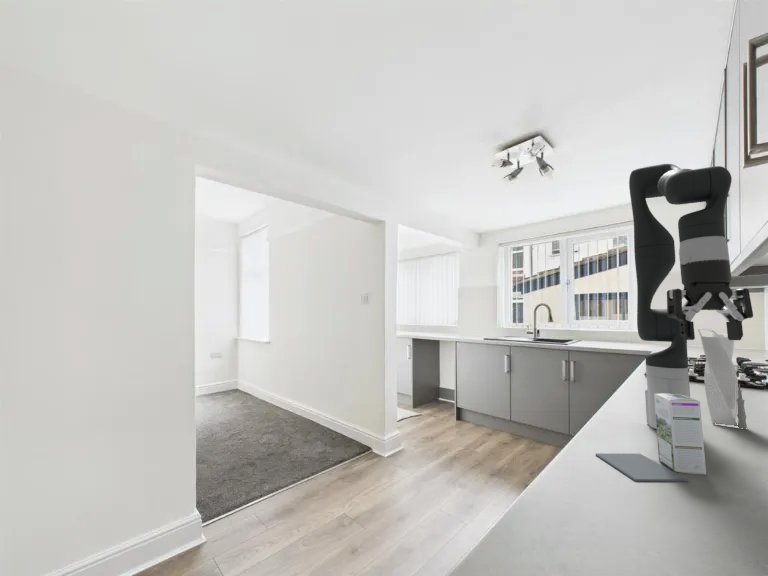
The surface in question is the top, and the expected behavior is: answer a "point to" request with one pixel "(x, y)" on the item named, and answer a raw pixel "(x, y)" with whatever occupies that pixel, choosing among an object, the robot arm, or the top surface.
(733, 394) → the skyscraper
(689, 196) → the robot arm
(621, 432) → the top surface
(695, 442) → the syrup box
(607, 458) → the mat
